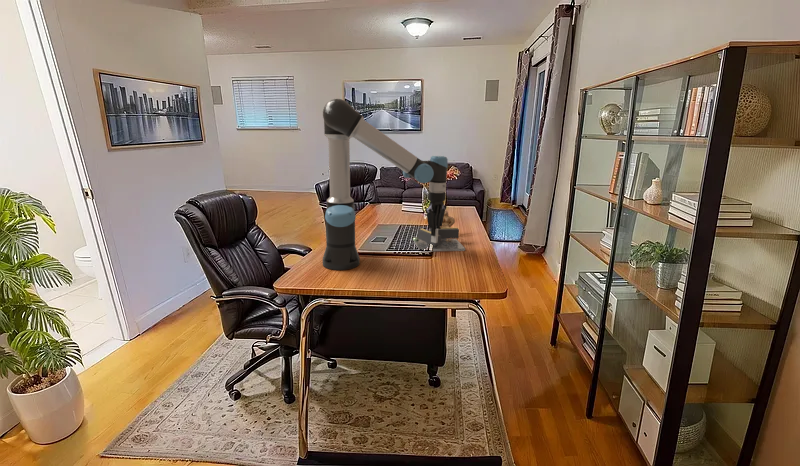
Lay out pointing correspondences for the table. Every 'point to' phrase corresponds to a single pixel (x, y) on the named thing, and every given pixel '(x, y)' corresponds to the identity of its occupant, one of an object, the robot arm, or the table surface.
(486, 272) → the table surface
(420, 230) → the striped dark bar
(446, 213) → the figurine
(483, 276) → the table surface
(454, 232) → the curved tan-striped slab
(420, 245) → the level plate
